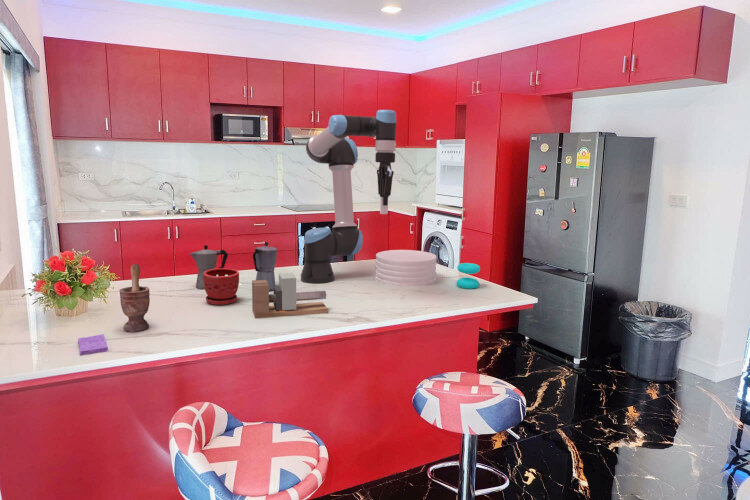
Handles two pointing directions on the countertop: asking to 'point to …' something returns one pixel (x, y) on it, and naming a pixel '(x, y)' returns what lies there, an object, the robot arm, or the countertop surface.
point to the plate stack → (405, 268)
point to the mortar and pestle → (135, 302)
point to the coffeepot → (207, 262)
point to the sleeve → (288, 290)
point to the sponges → (92, 344)
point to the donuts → (468, 269)
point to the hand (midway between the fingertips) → (383, 213)
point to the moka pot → (265, 264)
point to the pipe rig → (263, 310)
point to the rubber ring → (278, 298)
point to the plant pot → (221, 285)
